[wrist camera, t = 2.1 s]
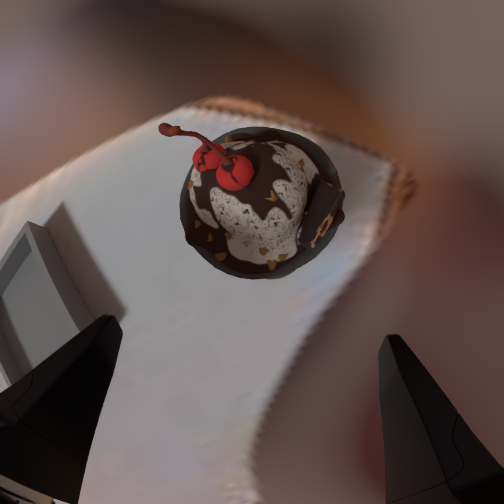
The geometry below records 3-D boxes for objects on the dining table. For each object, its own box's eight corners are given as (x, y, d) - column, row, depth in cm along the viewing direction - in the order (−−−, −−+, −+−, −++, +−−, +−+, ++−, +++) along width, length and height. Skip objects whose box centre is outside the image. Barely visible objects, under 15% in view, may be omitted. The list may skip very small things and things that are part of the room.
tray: (107, 340, 21) (86, 343, 18) (42, 408, 21) (23, 414, 18) (46, 228, 24) (27, 220, 21) (-6, 307, 24) (-24, 305, 21)
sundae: (211, 228, 22) (98, 111, 7) (289, 187, 22) (285, 22, 7) (251, 307, 21) (167, 312, 6) (333, 263, 21) (424, 173, 6)
